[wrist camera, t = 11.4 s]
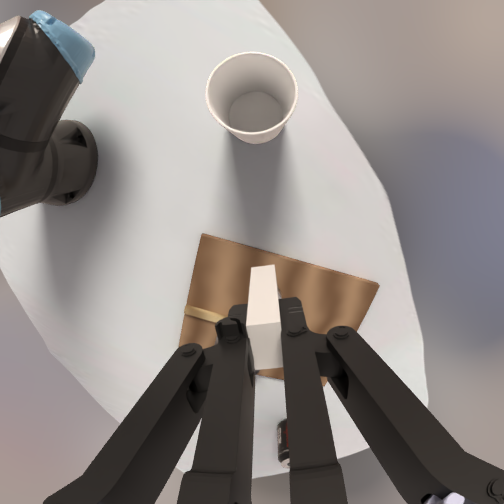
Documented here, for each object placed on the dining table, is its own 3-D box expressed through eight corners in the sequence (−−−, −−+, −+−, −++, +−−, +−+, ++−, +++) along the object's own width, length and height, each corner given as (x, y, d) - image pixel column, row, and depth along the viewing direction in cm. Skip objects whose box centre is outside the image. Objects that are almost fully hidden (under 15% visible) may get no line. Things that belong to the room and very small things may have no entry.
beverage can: (271, 424, 57) (271, 464, 46) (292, 412, 56) (295, 454, 44) (290, 433, 59) (292, 471, 47) (311, 422, 57) (316, 461, 46)
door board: (179, 349, 50) (172, 366, 46) (202, 233, 42) (195, 243, 38) (323, 382, 52) (327, 399, 47) (377, 282, 44) (387, 296, 39)
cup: (256, 79, 35) (252, 36, 19) (296, 118, 36) (317, 94, 21) (215, 116, 37) (186, 93, 22) (255, 155, 38) (250, 154, 23)
